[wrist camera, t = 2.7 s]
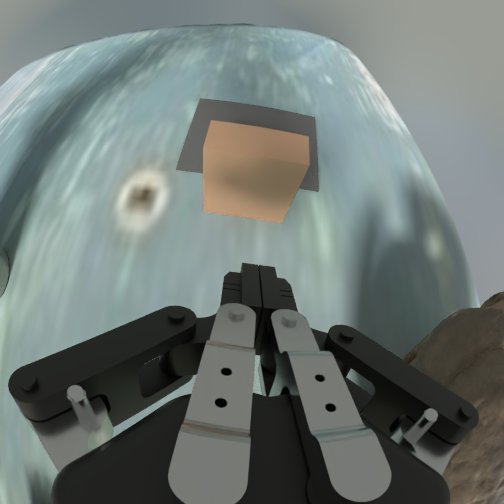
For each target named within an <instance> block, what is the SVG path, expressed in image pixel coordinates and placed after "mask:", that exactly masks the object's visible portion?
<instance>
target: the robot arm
mask: <svg viewBox="0 0 504 504" xmlns="http://www.w3.org/2000/svg"><path fill="white" fill-rule="evenodd" d="M8 276H9V260H8V256H7V254H6V252H5V251H4V249H3V248H1V247H0V297H1V295H2V294H3V292H4V290H5V287H6V284H7V281H8ZM255 355H260V363H259V367H258V373H259V380H260V386H261V392H262V395H260V394H256V393H253V380H254V366H255ZM158 356H159V357H158ZM156 357H157V358H156ZM154 358H155V359H154ZM152 359H153V360H152ZM151 360H152V361H151ZM149 361H150V362H149ZM147 362H148V363H147ZM145 363H146V364H145ZM351 368H352V369H353V370H355V371H356V372H357V373H359V374H360V375H362V376H363V377H365V378H366V379H367V380H369V381H370V382H372V383H373V385H374V387H375V394H374V395H373V396H372V395H370V394H369V393H367V392H366V391H364V390H363V389H362V388H360V387H359V386H358V385H356V384H355V383H353V382H352V381H351V380H349V379H348V378H347V377H346V376H347V375H348V373H349V371H350V369H351ZM196 374H197V376H196V380H195V383H194V387H193V391H192V394H188V395H184V396H180V397H178V398H175V399H173V400H171V401H169V402H167V403H166V404H164V405H163V406H161V407H160V408H158V409H157V410H155V411H154V412H152V413H151V414H149V415H148V416H146V417H145V418H143V419H142V420H140V421H139V422H137V423H136V424H134V425H132V426H131V427H129V428H128V429H126V430H125V431H123V432H121V433H120V434H118V435H117V436H115V437H113V438H112V436H113V432H114V431H113V427H114V426H116V425H118V424H120V423H122V422H123V421H125V420H127V419H129V418H130V417H132V416H134V415H135V414H137V413H139V412H141V411H142V410H144V409H146V408H147V407H149V406H151V405H152V404H154V403H155V402H157V401H159V400H160V399H162V398H164V397H165V396H167V395H168V394H170V393H172V392H173V391H175V390H176V389H178V388H180V387H181V386H183V385H184V384H186V383H187V382H189V381H190V380H191V379H192V377H193V375H196ZM8 387H9V391H10V393H11V395H12V397H13V398H14V400H15V402H16V403H17V405H18V407H19V409H20V412H21V413H22V415H23V416H24V418H25V419H26V421H27V422H28V424H29V425H30V426H31V428H32V429H33V431H34V432H35V433H36V434H37V435H38V437H39V439H40V441H41V443H42V445H43V446H44V448H45V450H46V452H47V453H48V455H49V457H50V458H51V460H52V462H53V463H54V465H55V467H56V468H57V470H58V471H59V474H58V475H57V477H56V479H55V481H54V484H53V487H52V504H450V491H449V488H448V485H447V483H446V481H445V479H444V478H443V477H442V474H443V472H444V470H445V468H446V466H447V464H448V462H449V460H450V458H451V456H452V454H453V452H454V450H455V447H456V446H457V445H458V444H459V443H460V442H461V441H462V440H463V439H464V438H465V437H466V436H467V435H468V434H469V433H470V432H471V431H472V430H473V429H474V428H475V427H476V426H477V424H478V422H479V414H478V412H477V410H476V408H475V407H474V406H473V405H472V404H471V403H469V402H468V401H466V400H465V399H463V398H462V397H460V396H458V395H457V394H455V393H454V392H452V391H450V390H449V389H447V388H446V387H444V386H443V385H441V384H439V383H438V382H436V381H435V380H433V379H432V378H430V377H429V376H427V375H425V374H424V373H422V372H421V371H419V370H418V369H416V368H414V367H413V366H411V365H410V364H408V363H407V362H405V361H404V360H402V359H400V358H399V357H397V356H396V355H394V354H393V353H391V352H390V351H388V350H386V349H385V348H383V347H382V346H380V345H379V344H377V343H376V342H374V341H373V340H371V339H369V338H368V337H366V336H365V335H363V334H362V333H360V332H359V331H357V330H355V329H354V328H352V327H349V326H346V325H335V326H332V327H331V328H330V329H329V332H328V333H325V332H321V331H318V330H315V329H312V328H310V326H309V323H308V321H307V319H306V318H305V317H304V316H303V315H302V314H300V313H299V312H298V310H297V307H296V303H295V299H294V296H293V292H292V288H291V285H290V284H289V283H288V282H287V281H286V280H285V279H282V278H277V275H276V271H275V267H270V266H262V265H259V266H258V265H255V264H247V263H242V266H241V272H240V273H236V272H229V273H228V274H226V275H225V276H224V282H223V290H222V297H221V304H220V307H219V309H218V311H217V313H216V314H214V315H212V316H210V317H205V318H197V317H196V315H195V313H194V312H193V311H191V310H190V309H188V308H186V307H182V306H168V307H165V308H162V309H160V310H158V311H155V312H153V313H151V314H148V315H146V316H144V317H141V318H139V319H137V320H134V321H132V322H129V323H127V324H125V325H122V326H120V327H118V328H115V329H113V330H111V331H108V332H106V333H103V334H101V335H99V336H96V337H94V338H91V339H89V340H87V341H84V342H82V343H79V344H77V345H74V346H72V347H70V348H67V349H65V350H62V351H60V352H57V353H55V354H52V355H50V356H48V357H45V358H43V359H40V360H38V361H35V362H33V363H30V364H28V365H25V366H23V367H20V368H19V369H17V370H16V371H15V372H14V373H13V374H12V375H11V377H10V379H9V383H8Z"/></svg>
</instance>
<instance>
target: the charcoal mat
mask: <svg viewBox="0 0 504 504" xmlns="http://www.w3.org/2000/svg"><path fill="white" fill-rule="evenodd" d="M211 120H214V121H222V122H230V123H237V124H244V125H251V126H257V127H263V128H269V129H274V130H279V131H285V132H290V133H295V134H299V135H304V136H309V161H310V166H309V168H308V170H307V172H306V174H305V176H304V178H303V180H302V182H301V184H300V187H299V188H302V189H307V190H312V191H317V192H318V191H319V184H318V158H317V140H316V124H315V117H311V116H307V115H302V114H298V113H293V112H288V111H283V110H278V109H273V108H267V107H261V106H255V105H249V104H242V103H235V102H228V101H219V100H210V99H200V101H199V104H198V106H197V109H196V112H195V114H194V117H193V120H192V123H191V125H190V128H189V131H188V134H187V137H186V140H185V143H184V146H183V149H182V152H181V155H180V158H179V161H178V165H177V168H176V170H183V171H191V172H200V173H203V146H204V143H205V139H206V136H207V132H208V129H209V125H210V122H211Z"/></svg>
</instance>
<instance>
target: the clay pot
mask: <svg viewBox="0 0 504 504" xmlns="http://www.w3.org/2000/svg"><path fill="white" fill-rule="evenodd" d="M403 360H404V361H405V362H407V363H408V364H410V365H411V366H413V367H414V368H416V369H418V370H419V371H421V372H422V373H424V374H425V375H427V376H429V377H430V378H432V379H433V380H435V381H436V382H438V383H439V384H441V385H443V386H444V387H446V388H447V389H449V390H450V391H452V392H454V393H455V394H457V395H458V396H460V397H462V398H463V399H465V400H466V401H468V402H469V403H471V404H472V405H473V406H474V407H475V408H476V410H477V412H478V414H479V422H478V424H477V426H476V427H475V428H474V429H473V430H472V431H471V432H470V433H469V434H468V435H467V436H466V437H465V438H464V439H463V440H462V441H461V442H460V443H459V444H458V445H457V446H456V447H455V450H454V452H453V454H452V456H451V458H450V460H449V462H448V464H447V466H446V468H445V470H444V472H443V474H442V477H443V478H444V479H445V481H446V483H447V485H448V488H449V491H450V504H504V292H499V293H497V294H495V295H493V296H492V297H491V298H489V299H488V300H487V301H485V302H484V303H483V305H482V306H481V307H480V308H468V309H462V310H459V311H457V312H455V313H453V314H452V315H450V316H449V317H448V318H447V319H445V320H443V321H442V322H441V323H440V324H439V325H438V326H437V327H436V328H435V329H434V330H433V331H432V332H431V333H430V334H428V335H427V336H426V337H425V338H424V339H423V340H422V341H421V342H420V343H419V344H418V345H417V346H416V347H415V348H414V349H413V350H412V351H411V352H410V353H408V354H407V356H405V357H404V358H403Z"/></svg>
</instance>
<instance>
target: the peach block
mask: <svg viewBox="0 0 504 504" xmlns="http://www.w3.org/2000/svg"><path fill="white" fill-rule="evenodd" d="M309 166H310V161H309V136H304V135H299V134H295V133H290V132H285V131H279V130H274V129H269V128H263V127H257V126H251V125H244V124H237V123H230V122H222V121H214V120H211V122H210V125H209V129H208V132H207V136H206V139H205V143H204V146H203V198H204V212H210V213H217V214H224V215H231V216H238V217H245V218H251V219H258V220H264V221H271V222H277V223H282V221H283V219H284V217H285V215H286V213H287V211H288V209H289V207H290V205H291V203H292V201H293V199H294V197H295V195H296V193H297V191H298V189H299V187H300V184H301V182H302V180H303V178H304V176H305V174H306V172H307V170H308V168H309Z"/></svg>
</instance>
